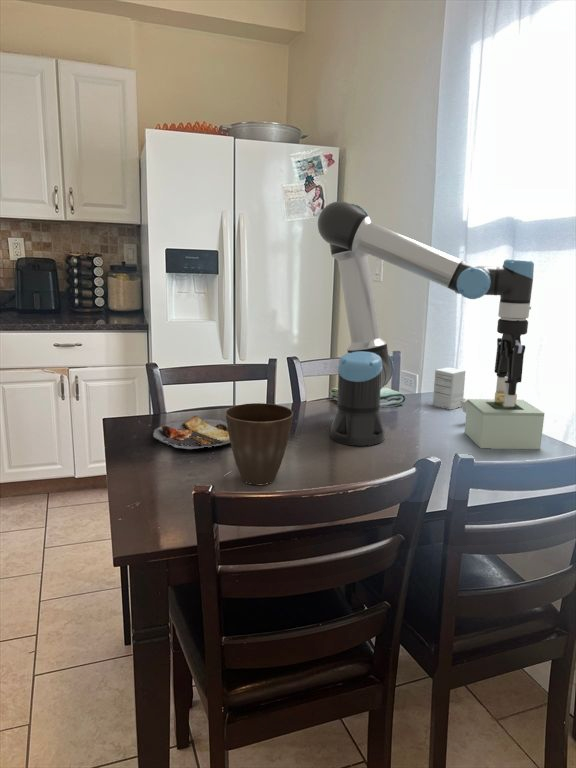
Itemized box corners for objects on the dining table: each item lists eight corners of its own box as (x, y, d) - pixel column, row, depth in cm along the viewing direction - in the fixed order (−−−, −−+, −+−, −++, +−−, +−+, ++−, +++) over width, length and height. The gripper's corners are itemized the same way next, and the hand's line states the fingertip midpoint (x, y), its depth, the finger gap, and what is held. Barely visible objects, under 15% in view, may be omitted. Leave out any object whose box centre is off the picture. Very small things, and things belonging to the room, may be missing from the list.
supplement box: (444, 402, 200) (447, 366, 197) (463, 406, 194) (466, 370, 191) (431, 405, 195) (434, 369, 192) (450, 410, 190) (453, 373, 187)
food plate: (137, 436, 159) (137, 424, 158) (205, 420, 175) (205, 409, 174) (191, 462, 142) (191, 448, 141) (260, 442, 158) (260, 430, 157)
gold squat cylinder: (498, 406, 155) (499, 396, 154) (491, 401, 160) (492, 391, 159) (519, 407, 155) (520, 396, 154) (511, 402, 160) (512, 391, 159)
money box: (480, 448, 153) (483, 412, 151) (464, 432, 166) (467, 399, 164) (540, 449, 153) (544, 413, 151) (519, 432, 167) (523, 399, 164)
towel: (327, 398, 204) (328, 384, 203) (380, 394, 211) (381, 380, 210) (350, 411, 188) (350, 396, 186) (406, 407, 195) (407, 392, 193)
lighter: (475, 421, 178) (477, 396, 176) (479, 422, 176) (481, 397, 174) (458, 424, 174) (460, 398, 173) (462, 425, 173) (464, 400, 171)
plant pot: (293, 468, 137) (294, 404, 133) (289, 494, 122) (291, 422, 119) (231, 466, 138) (231, 402, 134) (220, 491, 123) (219, 420, 120)
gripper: (542, 323, 143) (532, 412, 148) (513, 315, 161) (505, 395, 166) (512, 322, 143) (503, 412, 148) (487, 314, 161) (479, 394, 166)
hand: (504, 402), depth 157 cm, fingers closed on gold squat cylinder, 5 cm apart
